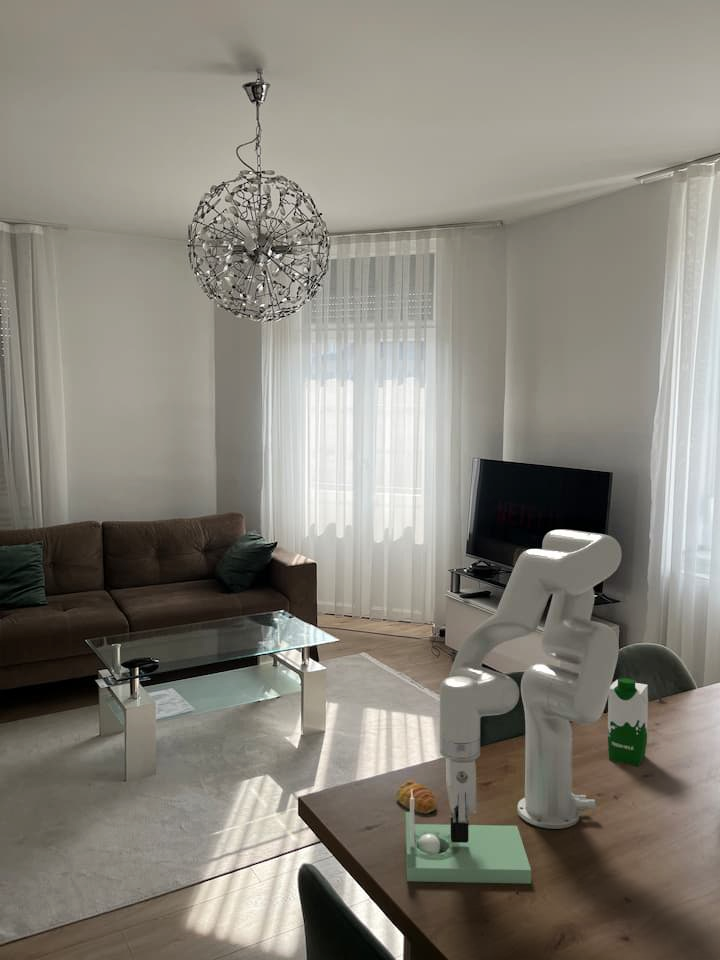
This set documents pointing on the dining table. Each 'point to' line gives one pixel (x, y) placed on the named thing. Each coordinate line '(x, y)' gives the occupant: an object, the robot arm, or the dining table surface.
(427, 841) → the ball
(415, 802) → the pastry
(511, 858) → the mat
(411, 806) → the flag
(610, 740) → the milk carton
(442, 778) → the dining table surface
